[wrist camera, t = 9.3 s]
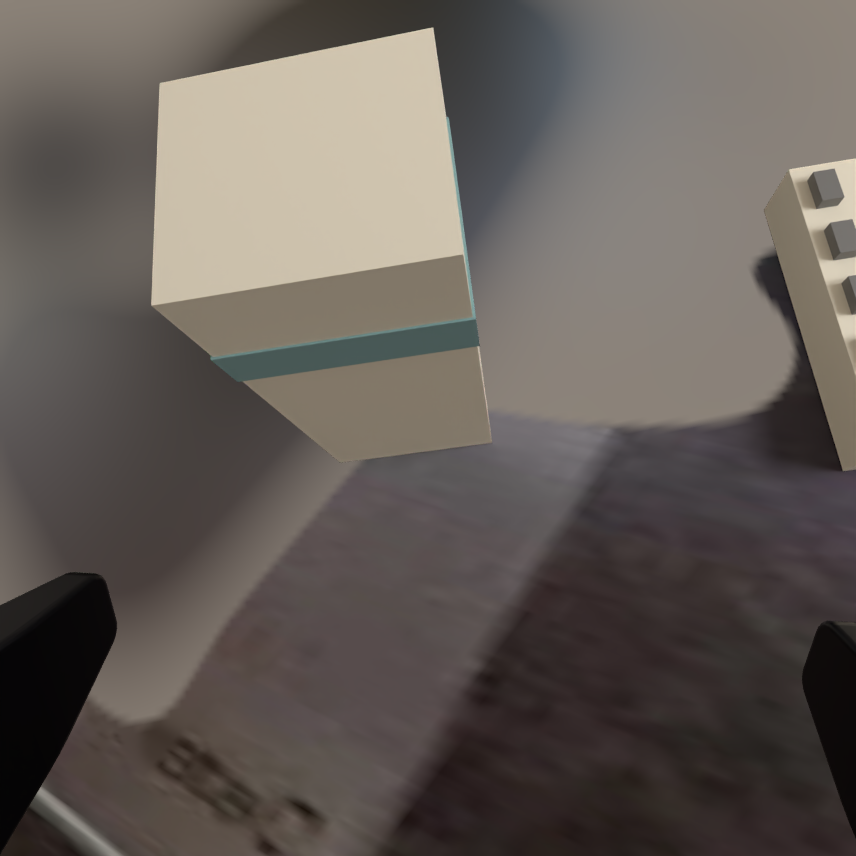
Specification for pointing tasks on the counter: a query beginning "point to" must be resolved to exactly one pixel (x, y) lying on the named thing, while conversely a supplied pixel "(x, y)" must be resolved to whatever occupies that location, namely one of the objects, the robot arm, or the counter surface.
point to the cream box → (325, 244)
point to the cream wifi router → (823, 282)
